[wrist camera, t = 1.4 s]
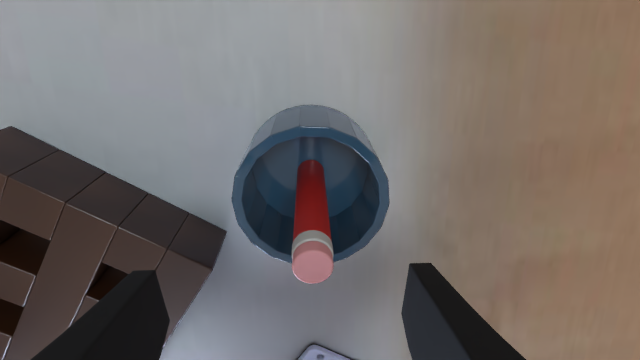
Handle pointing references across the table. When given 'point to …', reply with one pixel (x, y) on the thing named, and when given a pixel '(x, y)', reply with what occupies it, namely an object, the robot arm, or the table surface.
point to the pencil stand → (84, 243)
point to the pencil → (311, 226)
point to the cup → (281, 180)
